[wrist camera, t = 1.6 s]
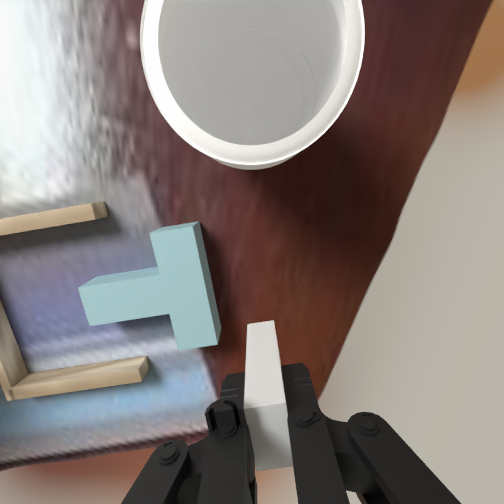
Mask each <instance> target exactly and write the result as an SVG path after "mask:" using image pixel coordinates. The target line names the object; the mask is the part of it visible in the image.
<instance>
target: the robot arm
mask: <svg viewBox="0 0 504 504" xmlns="http://www.w3.org/2000/svg"><path fill="white" fill-rule="evenodd" d="M205 416H206V421H207V425H208V429H209V435H208V436H207V437H206V438H204V439H203V440H201V441H199V442H197V443H194V444H192V445H190V446H188V445H187V444H186V443H185V442H184V441H183V440H180V439H173V440H169V441H167V442H164V443H163V444H161V445H160V446H159V447H157V449H156V450H155V451H154V452H153V453H152V455H151V457H150V458H149V460H148V461H147V463H146V464H145V466H144V468H143V470H142V471H141V473H140V474H139V476H138V477H137V479H136V481H135V482H134V484H133V486H132V487H131V489H130V490H129V492H128V493H127V495H126V497H125V498H124V500H123V501H122V503H121V504H257V483H256V478H255V467H256V471H260V470H268V469H276V468H283V467H291V466H293V467H294V475H295V482H296V489H297V496H298V504H350V503H349V500H348V496H347V493H346V490H347V491H352V492H356V494H357V497H358V498H359V500H360V502H361V503H362V504H461V503H460V502H459V501H458V500H457V499H456V498H455V496H454V495H453V494H452V493H451V492H450V491H449V490H448V489H447V488H446V486H445V485H444V484H443V483H442V482H441V481H440V480H439V479H438V478H437V477H436V476H435V475H434V474H433V472H432V471H431V470H430V469H429V468H428V467H427V466H426V465H425V463H424V462H423V461H422V460H421V459H420V458H419V457H418V456H417V455H416V454H415V453H414V451H413V450H412V449H411V448H410V447H409V446H408V445H407V444H406V443H405V442H404V441H403V439H402V438H401V437H400V436H399V435H398V434H397V433H396V432H395V431H394V430H393V429H392V427H391V426H390V425H389V424H388V423H387V422H386V421H385V420H384V419H383V418H381V417H380V416H379V415H376V414H373V413H369V412H360V413H356V414H355V415H353V416H351V417H350V419H349V420H348V422H341V421H336V420H332V419H330V418H328V417H326V416H325V415H324V414H323V413H322V412H321V410H320V408H319V405H318V402H317V398H316V395H315V391H314V388H313V385H312V381H311V378H310V374H309V371H308V368H307V367H305V366H304V365H303V364H302V363H297V364H290V365H283V366H281V361H280V355H279V349H278V343H277V337H276V331H275V325H274V320H273V321H266V322H260V323H253V324H248V326H247V348H246V370H245V372H241V373H234V374H228V375H227V376H226V378H225V379H224V381H223V382H222V388H221V395H220V399H219V400H217V401H215V402H213V403H212V404H211V405H210V406H209V407H208V408H207V410H206V412H205Z"/></svg>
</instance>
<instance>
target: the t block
mask: <svg viewBox="0 0 504 504" xmlns="http://www.w3.org/2000/svg"><path fill="white" fill-rule="evenodd" d="M150 237H151V241H152V245H153V249H154V253H155V257H156V262H157V266H158V267H153V268H147V269H141V270H135V271H129V272H122V273H116V274H110V275H104V276H97V277H95V278H93V279H92V280H90V281H88V282H87V283H85V284H84V285H82V286H80V287H79V288H78V290H79V293H80V296H81V300H82V303H83V306H84V309H85V312H86V315H87V319H88V322H89V325H90V326H93V325H100V324H106V323H113V322H119V321H126V320H132V319H139V318H145V317H152V316H158V315H165V314H170V318H171V322H172V326H173V331H174V335H175V339H176V343H177V347H178V350H184V349H191V348H198V347H205V346H211V345H218V341H219V336H220V332H221V324H220V319H219V314H218V309H217V305H216V300H215V295H214V290H213V285H212V280H211V276H210V271H209V266H208V261H207V256H206V251H205V246H204V242H203V237H202V232H201V227H200V222H199V221H198V222H192V223H186V224H180V225H174V226H168V227H162V228H159V229H157V230H155V231H153V232H151V233H150Z"/></svg>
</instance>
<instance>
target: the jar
mask: <svg viewBox="0 0 504 504" xmlns="http://www.w3.org/2000/svg"><path fill="white" fill-rule="evenodd" d="M364 34H365V31H364V15H363V8H362V3H361V0H145V2H144V7H143V12H142V18H141V28H140V48H141V58H142V64H143V69H144V73H145V77H146V81H147V84H148V87H149V89H150V92H151V94H152V97H153V99H154V101H155V103H156V105H157V107H158V108H159V110H160V112H161V113H162V115H163V116H164V118H165V119H166V121H167V122H168V123H169V125H170V126H171V127H172V128H173V129H174V130H175V131H176V133H177V134H178V135H179V136H181V137H182V138H183V139H184V140H185V141H186V142H187V143H189V144H190V145H191V146H193V147H194V148H196V149H197V150H199V151H201V152H203V153H204V154H206V155H208V156H210V157H211V158H213V159H214V160H216V161H218V162H220V163H222V164H224V165H227V166H230V167H234V168H238V169H246V170H257V169H264V168H269V167H272V166H275V165H278V164H280V163H283V162H285V161H287V160H288V159H290V158H292V157H293V156H295V155H296V154H297V153H299V152H300V151H302V150H303V149H305V148H306V147H308V146H309V145H311V144H312V143H313V142H315V141H316V140H317V139H318V138H319V137H321V136H322V135H323V134H324V133H325V132H326V131H327V130H328V129H329V127H330V126H331V125H332V124H333V123H334V122H335V120H336V119H337V118H338V116H339V115H340V113H341V112H342V110H343V109H344V107H345V105H346V103H347V102H348V100H349V98H350V96H351V93H352V91H353V89H354V86H355V84H356V81H357V78H358V75H359V71H360V67H361V62H362V57H363V50H364Z"/></svg>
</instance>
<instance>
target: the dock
mask: <svg viewBox="0 0 504 504" xmlns="http://www.w3.org/2000/svg"><path fill="white" fill-rule="evenodd" d="M104 217H108V214H107V210H106V206H105V203H104V202H98V203H91V204H85V205H79V206H73V207H67V208H61V209H55V210H50V211H44V212H38V213H32V214H26V215H20V216H15V217H9V218H3V219H0V235H6V234H12V233H18V232H24V231H30V230H36V229H42V228H48V227H54V226H60V225H66V224H72V223H78V222H83V221H89V220H95V219H100V218H104ZM149 368H150V367H149V363H148V359H147V356H142V357H135V358H129V359H122V360H115V361H108V362H102V363H95V364H88V365H81V366H75V367H68V368H61V369H54V370H48V371H41V372H34V373H28V371H27V368H26V366H25V363H24V360H23V358H22V355H21V353H20V350H19V347H18V345H17V342H16V339H15V337H14V334H13V332H12V329H11V326H10V324H9V321H8V318H7V316H6V313H5V311H4V308H3V305H2V303H1V300H0V384H1V387H2V389H3V392H4V394H5V397H6V399H7V401H11V400H18V399H25V398H32V397H39V396H46V395H53V394H59V393H66V392H73V391H80V390H87V389H94V388H101V387H108V386H115V385H122V384H129V383H136V382H142V380H143V379H144V377H145V375H146V373H147V371H148V370H149Z"/></svg>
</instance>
